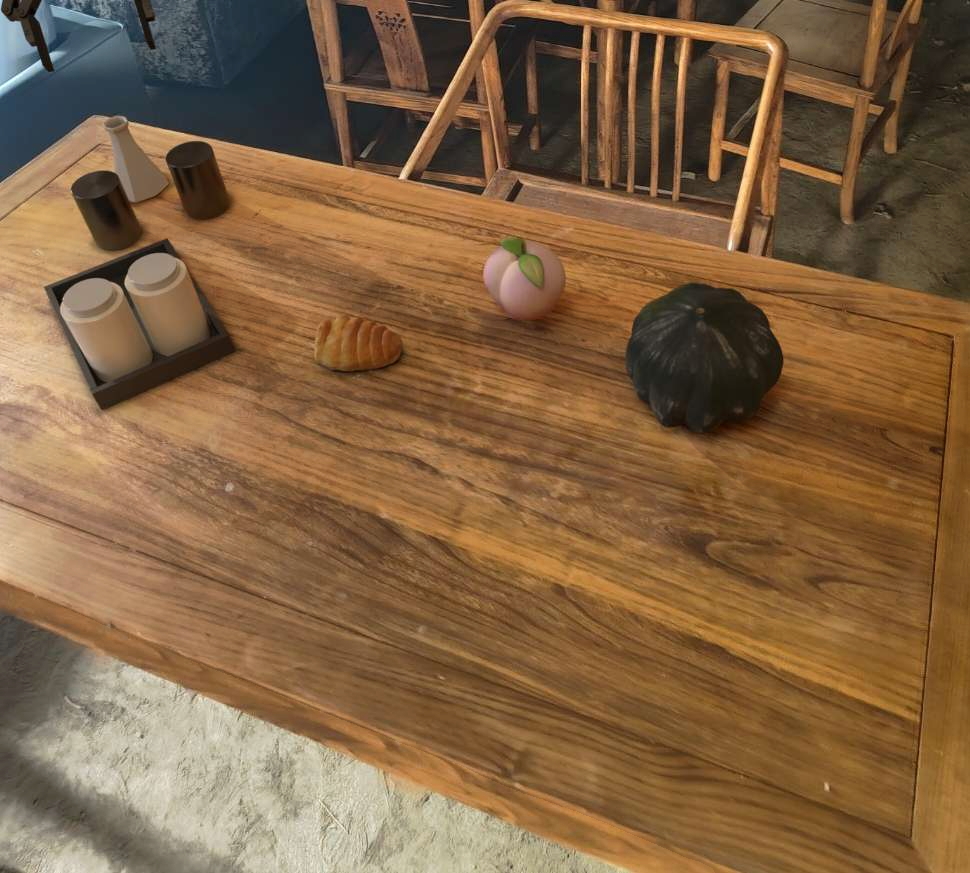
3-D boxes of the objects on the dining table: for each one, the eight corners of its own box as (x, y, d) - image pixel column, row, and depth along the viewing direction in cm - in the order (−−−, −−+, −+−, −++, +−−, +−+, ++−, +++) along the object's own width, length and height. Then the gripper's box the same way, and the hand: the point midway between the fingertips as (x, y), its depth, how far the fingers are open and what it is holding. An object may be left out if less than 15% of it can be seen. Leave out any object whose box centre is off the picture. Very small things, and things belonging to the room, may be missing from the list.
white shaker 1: (87, 357, 105) (49, 289, 98) (142, 333, 107) (109, 265, 99) (103, 392, 101) (64, 324, 94) (160, 367, 103) (127, 298, 96)
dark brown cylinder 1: (90, 233, 122) (64, 181, 116) (134, 216, 123) (111, 164, 117) (103, 257, 118) (77, 204, 112) (148, 239, 120) (125, 186, 114)
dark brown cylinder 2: (179, 204, 125) (159, 151, 118) (221, 188, 126) (203, 135, 120) (194, 225, 121) (174, 173, 115) (237, 209, 123) (219, 156, 117)
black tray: (52, 303, 113) (43, 286, 111) (174, 254, 117) (167, 237, 115) (101, 410, 100) (92, 394, 98) (235, 351, 105) (229, 334, 103)
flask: (134, 209, 124) (106, 143, 117) (105, 191, 128) (76, 125, 120) (178, 184, 128) (153, 118, 120) (149, 166, 131) (123, 101, 124)
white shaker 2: (146, 332, 107) (113, 264, 100) (200, 309, 109) (171, 241, 101) (164, 365, 103) (131, 297, 96) (219, 341, 105) (191, 272, 98)
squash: (741, 283, 97) (671, 228, 86) (834, 375, 89) (769, 328, 78) (648, 379, 102) (570, 339, 91) (727, 476, 94) (651, 444, 83)
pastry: (408, 334, 104) (403, 309, 101) (396, 378, 100) (390, 353, 97) (328, 330, 106) (321, 305, 103) (312, 373, 101) (305, 348, 99)
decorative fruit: (582, 319, 104) (583, 247, 96) (523, 352, 101) (519, 280, 94) (532, 277, 109) (529, 206, 102) (475, 307, 106) (467, 236, 99)
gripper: (-59, -101, 116) (-6, 67, 118) (140, -139, 120) (189, 25, 122) (-35, -71, 124) (14, 87, 125) (152, -108, 127) (197, 46, 129)
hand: (100, 57), depth 123 cm, fingers open, 13 cm apart
